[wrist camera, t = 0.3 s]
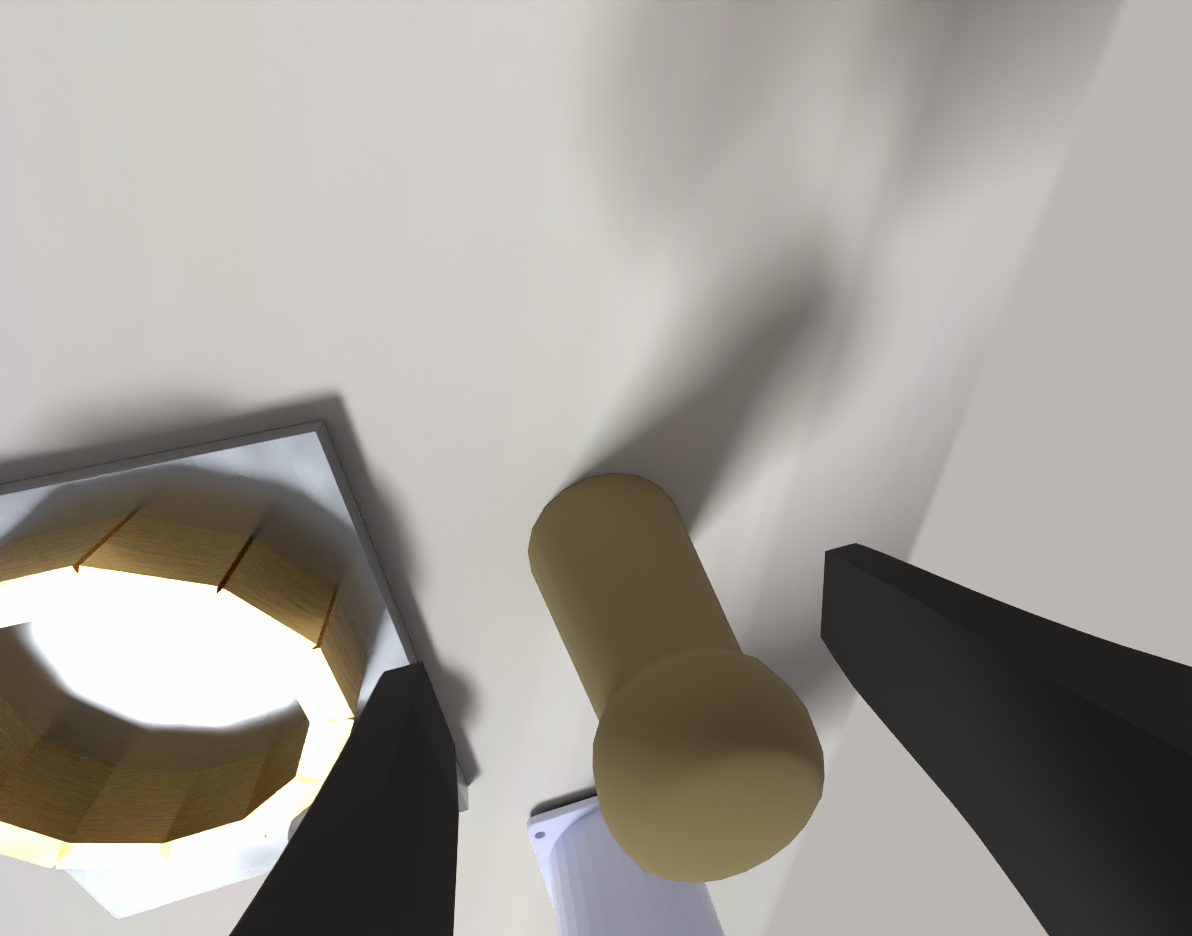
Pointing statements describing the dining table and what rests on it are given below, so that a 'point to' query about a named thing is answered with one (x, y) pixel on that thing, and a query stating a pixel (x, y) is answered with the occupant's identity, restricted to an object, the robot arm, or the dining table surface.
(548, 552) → the cork
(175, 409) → the dining table surface
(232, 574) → the flanged metal plate
